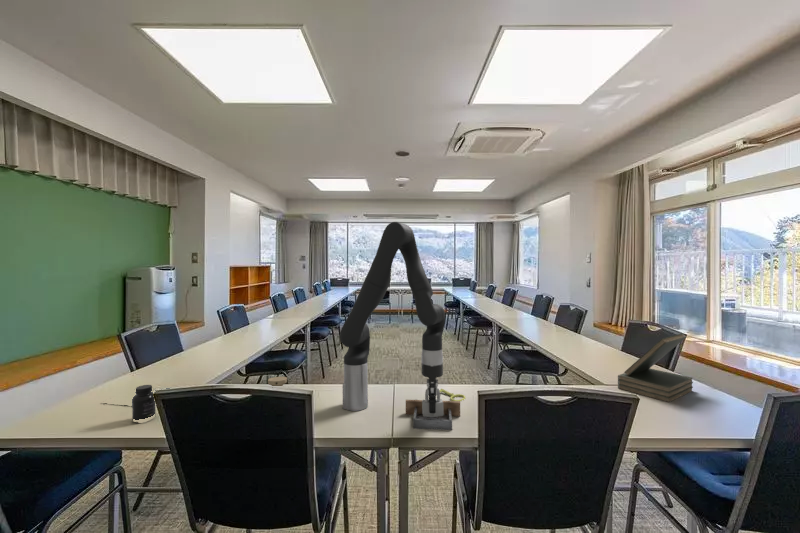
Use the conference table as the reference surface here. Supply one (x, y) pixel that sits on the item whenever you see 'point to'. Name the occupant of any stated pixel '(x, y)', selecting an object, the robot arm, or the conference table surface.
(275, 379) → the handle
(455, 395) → the key
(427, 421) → the grey metal tray
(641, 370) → the dark grey angled piece
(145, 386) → the supplement bottle
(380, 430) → the conference table surface
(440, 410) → the padlock
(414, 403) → the door strip
